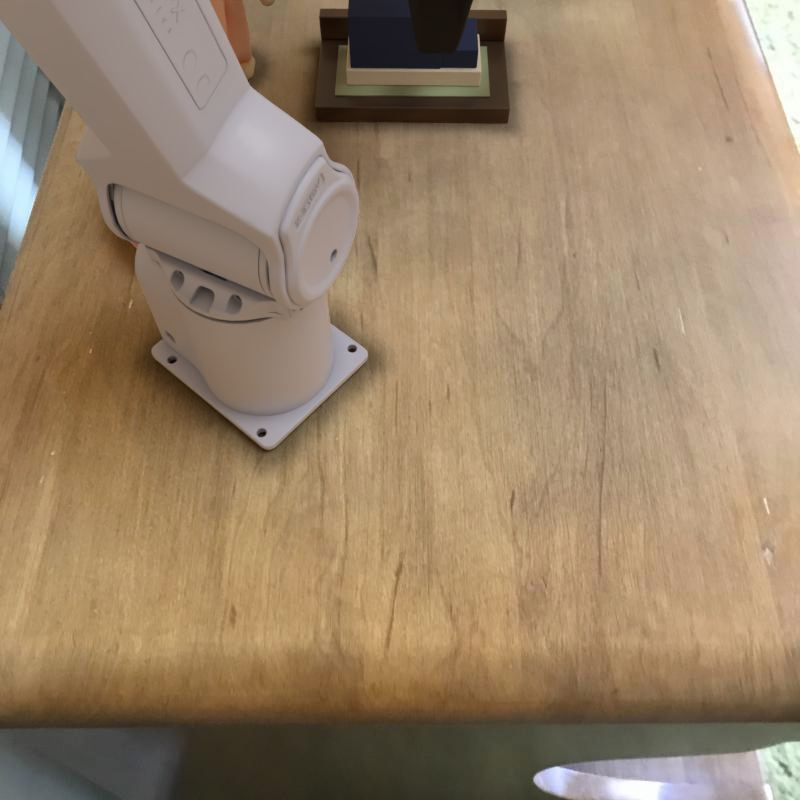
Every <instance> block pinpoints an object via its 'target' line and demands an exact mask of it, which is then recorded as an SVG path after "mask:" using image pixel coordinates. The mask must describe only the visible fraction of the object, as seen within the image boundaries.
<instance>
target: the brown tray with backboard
mask: <svg viewBox="0 0 800 800" xmlns="http://www.w3.org/2000/svg"><path fill="white" fill-rule="evenodd" d="M507 11H508V10H507V9H470V12H469V15H468V18H476V19H477V34H479V39H480V57H481V80H480V86H419V85H347V77H346V65H347V51H348V37H349V33H348V8H319V15H318V19H319V20H318V21H319V31H320V49H319V58H318V70H317V79H316V91H315V99H314V100H315V101H314V114H315V120H316V121H317V122H386V123H387V122H389V123H391V122H392V123H394V122H395V123H398V122H400V123H493V124H494V123H497V124H499V123H500V124H501V123H502V124H503V123H505V124H507V123H509V119H510V111H511V105H510V104H511V103H510V93H509V92H510V91H509V80H508V67H507V55H506V43H505V42H506V41H505V40H506V34H507V33H506V32H507V25H508V12H507Z"/></svg>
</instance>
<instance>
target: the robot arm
mask: <svg viewBox="0 0 800 800" xmlns="http://www.w3.org/2000/svg"><path fill="white" fill-rule="evenodd" d="M473 3H474V0H408V4H409V9H410V15H411V21H412V27H413V32H414V37H415V41H416V44H417V47H418V50H419V52H420V53H439V54H454V53H455V52H456V51H457V48H458V46H459V44H460V41H461V38H462V35H463V32H464V29H465V25H466V22H467V18H468V15H469V12H470V10H471V8H472V6H473ZM0 23H2V24H3V26H4V27H5V29H7V31H8V32H9V33H10V34H11V36H12V37H13V38H14V39H15V40H16V41H17V42H18V44H19V45H20V46H21V47H22V49H23V50H24V51H25V53H27V55H28V56H29V57H30V58H31V59H32V61H33V62H34V63H35V64H36V65H37V67H38V68H39V69H40V70H41V71H42V73H43V74H44V75H45V76H46V78H47V79H48V80H49V82H51V83H52V85H53V86H54V87H55V88H56V89H57V91H58V92H59V93H60V94H61V95H62V97H63V98H64V99H65V100H66V101H67V103H68V104H69V106H70V107H71V108H72V109H73V110H74V111H75V112H76V113H77V115H78V116H79V117H80V118H81V120H82V121H83V122H84V123H85V126H84V128H83V131H82V133H81V138H80V140H79V143H78V146H77V150H76V152H75V157H74V158H75V161H76V163H77V164H78V165H79V166H80V167H81V168H82V170H83V171H84V172H85V174H86V175H87V177H89V179H90V180H91V182H92V184H93V186H94V188H95V189H94V190H95V193H96V197H97V200H98V204H99V208H100V213H101V215H102V218H103V221H104V222H105V224H106V225H107V227H108V229H109V230H110V232H112V233H113V234H114V235H115V236H117V237H119V238H120V239H122V240H124V241H128V242H129V241H130V242H133V243H136V244H138V246H137V248H136V251H135V256H134V273H135V277H136V280H137V282H138V284H139V288H140V289H141V291H142V294H143V297H144V298H145V301H146V303H147V306H148V308H149V310H150V312H151V315H152V318H153V319H154V321H155V324H156V326H157V329H158V331H159V333H160V336H161V339H160V340H159V341H158V342H156V343H155V344H154V345H153V346H152V347H151V351H150V352H151V355H152V357H153V358H154V360H155V361H157V362H158V364H160V365H161V366H162V367H164V368H165V369H166V370H167V371H168V372H170V373H171V374H172V375H173V376H174V377H176V378H177V379H178V380H179V381H181V382H182V383H183V384H184V385H186V386H187V387H188V388H189V389H190V390H192V391H193V392H194V393H195V394H197V396H199V397H201V399H203V400H204V401H205V402H206V403H207V404H209V405H210V406H211V407H212V408H214V409H215V410H216V411H217V412H218V413H219V414H221V415H222V416H223V417H224V418H226V419H227V421H229V422H230V423H231V424H232V425H234V426H235V427H236V428H238V429H239V431H241V432H243V433H244V434H245V435H246V436H247V437H248V438H249V439H251V440H252V441H254V443H256V444H257V445H258V446H259V447H260V448H261V449H263V450H266V451H270V450H274V449H275V448H276V447H278V446H279V445H280V444H281V443H282V442H283V441H284V440H285V439H287V437H288V436H290V434H291V433H292V432H294V431H295V430H296V429H297V428H298V427H299V426H300V425H301V424H302V423H303V422H304V421H305V420H306V419H307V418H309V417H310V415H312V414H313V412H314V411H316V410H317V409H318V408H319V407H320V406H321V405H322V404H323V403H325V402H326V400H327V399H329V398H330V397H331V396H332V395H333V393H335V392H336V391H337V390H338V389H339V388H340V387H341V386H342V385H343V384H344V383H345V382H346V381H348V379H349V378H351V377H352V376H353V375H354V374H355V373H356V372H357V371H358V370H359V369H360V368H362V366H363V365H364V364H365V363H366V362H367V361H368V359H369V352H368V350H367V349H366V347H364V346H362V345H361V344H360V343H359V342H357V341H356V340H354V339H353V338H352V337H350V336H349V335H347V334H346V333H345V332H343V331H342V330H341V329H339V328H338V327H336V326H335V325H333V324H332V323H331V317H330V309H329V301H328V293H327V292H329V290H330V289H331V288H332V286H334V283H335V282H336V281H337V280H338V278H339V276H340V274H341V272H342V270H343V269H344V267H345V265H346V262H347V261H348V258H349V256H350V254H351V250H352V247H353V245H354V242H355V239H356V235H357V229H358V226H359V220H360V219H359V218H360V196H359V192H358V189H357V187H356V186H357V185H356V181H355V177H354V174H353V173H352V172H351V170H350V168H348V167H347V166H346V165H345V164H343V163H340V162H336V161H333V160H332V159H331V158H330V156H329V154H328V153H327V150H326V147H325V145H324V142H323V140H322V139H320V137H318V136H317V135H316V134H315V133H313V132H312V131H311V130H309V129H308V128H307V127H305V126H304V125H303V124H301V122H299V121H298V120H296V119H295V118H293V117H292V116H291V115H290V114H288V113H286V111H284V110H283V109H281V108H280V107H278V106H277V105H276V104H274V103H273V102H272V101H270V100H269V99H268V98H266V97H265V96H264V95H263V94H261V93H260V92H258V91H257V90H256V89H254V88H253V86H251V84H250V82H249V80H247V78H246V76H245V74H244V72H243V70H242V68H241V66H240V63H239V61H238V59H237V57H236V55H235V53H234V51H233V49H232V47H231V44H230V42H229V40H228V38H227V36H226V34H225V32H224V30H223V28H222V26H221V23H220V21H219V19H218V17H217V15H216V13H215V11H214V9H213V7H212V5H211V2H210V0H0ZM130 242H129V243H130ZM350 350H355V351H353V352H351V351H350ZM174 360H175V362H172V363H171V361H174ZM261 433H265V435H264V436H259V434H261Z"/></svg>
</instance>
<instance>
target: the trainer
mask: <svg viewBox="0 0 800 800" xmlns="http://www.w3.org/2000/svg"><path fill="white" fill-rule="evenodd" d="M347 9H348V33H349V37H348V51H347V65H346V77H347V85H419V86H480V80H481V57H480V39H479V34H477V19H476V18H467V22H466V25H465V29H464V32H463V35H462V38H461V41H460V44H459V46H458V48H457V51H456V52H455V53H454V54H439V53H420V52H419V50H418V47H417V44H416V41H415V37H414V32H413V27H412V21H411V15H410V9H409V4H408V0H348V3H347Z"/></svg>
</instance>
